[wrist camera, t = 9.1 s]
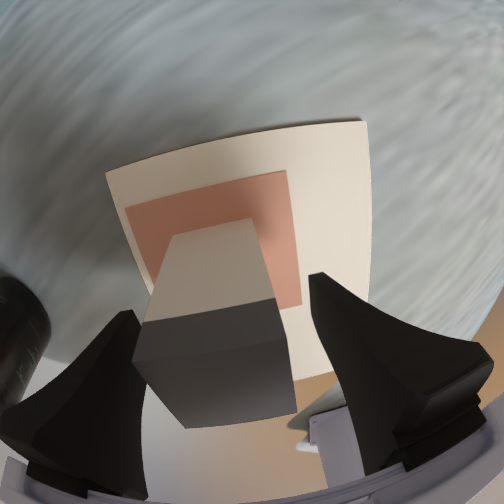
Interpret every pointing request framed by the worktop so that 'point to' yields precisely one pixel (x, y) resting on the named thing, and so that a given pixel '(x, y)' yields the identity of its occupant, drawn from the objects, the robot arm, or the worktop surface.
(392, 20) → the worktop surface
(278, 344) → the grey rectangular block
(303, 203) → the paper sheet
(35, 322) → the supplement bottle
